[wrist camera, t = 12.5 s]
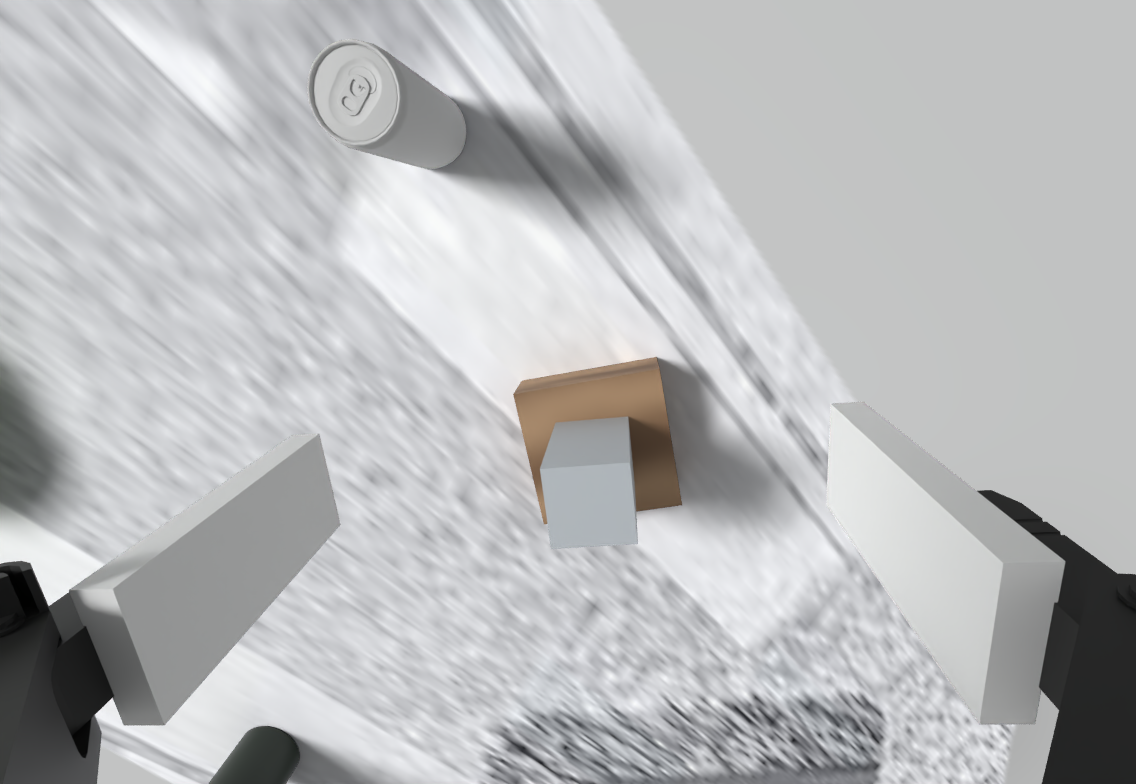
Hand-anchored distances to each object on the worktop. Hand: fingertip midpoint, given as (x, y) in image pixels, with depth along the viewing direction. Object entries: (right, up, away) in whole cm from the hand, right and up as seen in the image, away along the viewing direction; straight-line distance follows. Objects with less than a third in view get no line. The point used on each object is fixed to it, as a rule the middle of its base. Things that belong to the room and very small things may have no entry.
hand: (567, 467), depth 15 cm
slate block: (+2, -2, +25) cm, 25 cm away
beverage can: (-9, +19, +24) cm, 32 cm away
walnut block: (+3, -1, +29) cm, 29 cm away
